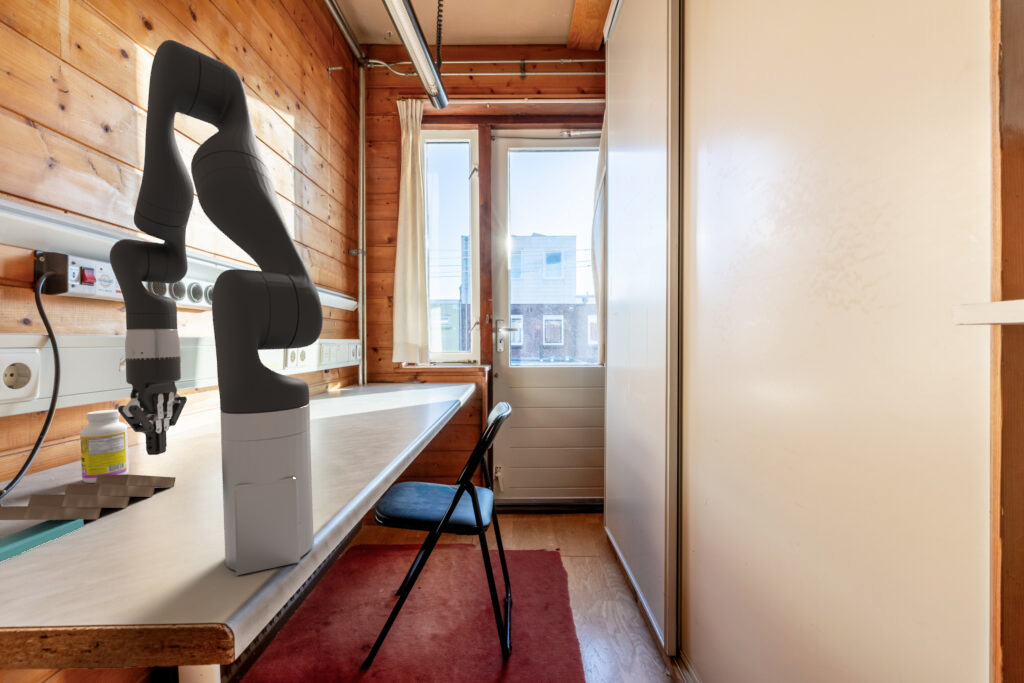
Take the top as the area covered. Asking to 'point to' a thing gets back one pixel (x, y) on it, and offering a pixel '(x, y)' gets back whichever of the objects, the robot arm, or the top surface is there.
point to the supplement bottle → (104, 446)
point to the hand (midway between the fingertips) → (156, 453)
